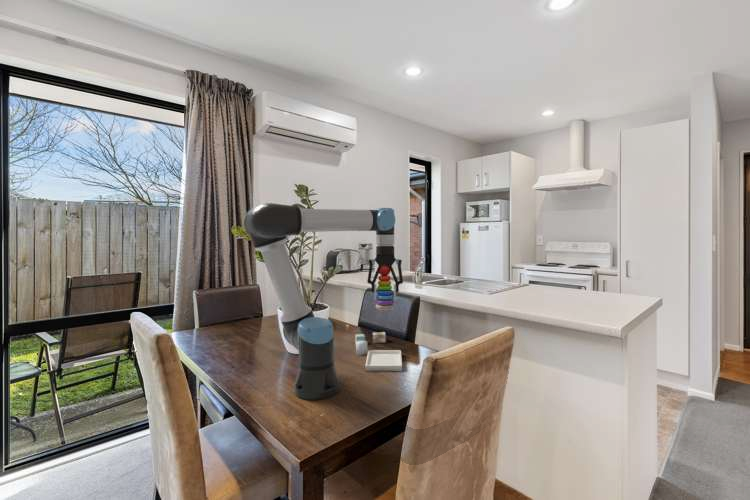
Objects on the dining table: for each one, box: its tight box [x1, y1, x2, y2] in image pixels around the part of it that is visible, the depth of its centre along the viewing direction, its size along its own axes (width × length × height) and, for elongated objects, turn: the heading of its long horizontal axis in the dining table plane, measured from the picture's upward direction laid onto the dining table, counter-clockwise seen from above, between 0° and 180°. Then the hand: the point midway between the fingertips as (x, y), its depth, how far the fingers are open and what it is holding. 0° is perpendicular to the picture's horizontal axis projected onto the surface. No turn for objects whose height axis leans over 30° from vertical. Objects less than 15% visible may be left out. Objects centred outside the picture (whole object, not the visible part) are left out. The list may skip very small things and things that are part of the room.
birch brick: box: [372, 331, 387, 344], centre depth 172 cm, size 6×4×4 cm, turn 91°
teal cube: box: [354, 333, 366, 344], centre depth 169 cm, size 4×4×4 cm
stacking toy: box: [375, 265, 396, 311], centre depth 148 cm, size 8×8×19 cm
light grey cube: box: [355, 340, 369, 356], centre depth 155 cm, size 5×5×5 cm
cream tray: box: [364, 349, 403, 372], centre depth 144 cm, size 14×18×2 cm
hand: (385, 300), depth 148 cm, fingers closed on stacking toy, 7 cm apart
